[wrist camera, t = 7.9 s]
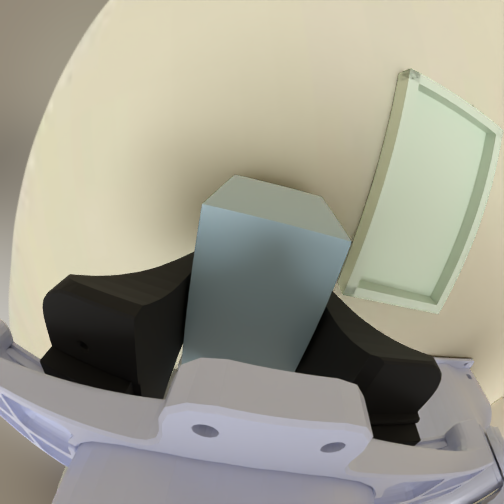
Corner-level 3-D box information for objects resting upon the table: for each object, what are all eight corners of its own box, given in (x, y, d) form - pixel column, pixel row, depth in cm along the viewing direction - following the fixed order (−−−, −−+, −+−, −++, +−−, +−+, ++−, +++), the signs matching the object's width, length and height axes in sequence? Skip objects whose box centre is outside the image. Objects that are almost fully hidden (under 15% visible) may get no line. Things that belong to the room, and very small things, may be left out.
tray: (488, 128, 12) (503, 129, 11) (429, 302, 18) (438, 314, 17) (398, 73, 12) (410, 68, 11) (337, 281, 18) (342, 294, 16)
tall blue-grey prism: (321, 196, 12) (358, 252, 6) (271, 345, 16) (265, 435, 10) (234, 174, 12) (194, 211, 6) (204, 329, 16) (174, 415, 10)
